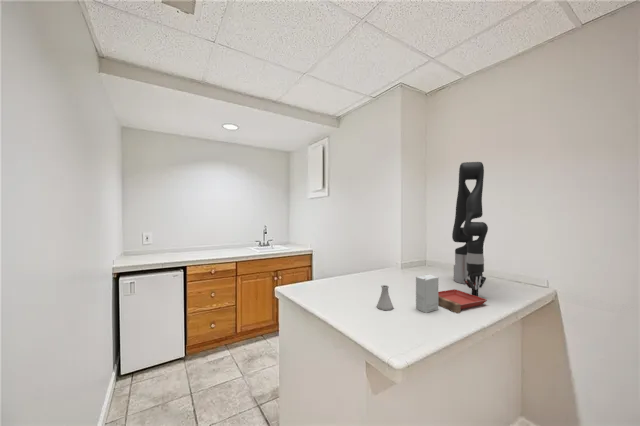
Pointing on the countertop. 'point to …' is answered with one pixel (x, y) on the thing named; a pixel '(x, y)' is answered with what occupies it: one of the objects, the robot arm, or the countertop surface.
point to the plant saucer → (462, 298)
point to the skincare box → (427, 293)
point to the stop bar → (449, 304)
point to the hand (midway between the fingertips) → (474, 296)
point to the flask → (384, 299)
